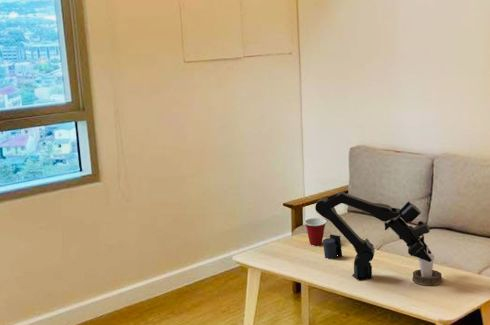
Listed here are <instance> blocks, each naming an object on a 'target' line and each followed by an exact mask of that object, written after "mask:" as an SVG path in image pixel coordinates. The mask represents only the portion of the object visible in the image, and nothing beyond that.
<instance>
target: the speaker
mask: <svg viewBox="0 0 490 325" xmlns="http://www.w3.org/2000/svg"><path fill="white" fill-rule="evenodd" d="M322 244H323V250H324V251H323V252H324V258H325V259H327V258H328V260H333V259H332V258H334V259H335V258H338V257H339V256H342V257H343V252H342V251H343V249H342V241H341V235H336V234H329V237H327V238H323V239H322ZM337 255H338V256H337Z"/></svg>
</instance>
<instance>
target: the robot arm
mask: <svg viewBox="0 0 490 325" xmlns="http://www.w3.org/2000/svg"><path fill="white" fill-rule="evenodd" d="M340 204H343V205H345V206H349V207H350V208H351V207H352V208H355V209H357V210H360V211H363V212H365V213H368V214H370V215H371V216H372V217H374V218H375V219H378V220H380V221H381V222H384V231H387V230H389V229H391V230H392V231H393V232H394V233H395V234H396V236H398V238H399V240H402V241H403V242H404V243H406V246H407V247H408V248H407V253H408V254H409V255H410V257H416V258H417V259H418V258H420V259H423V260H426V261H428V262H431V261H432V260H431V258H430V257H429V255H428V254H432V252H431V250H430V248H429V247H428V254H427V244H426V242H425V234H429V233H430V227H429V225H428V223H427V222H426V221H425V222H424V221H422V220H420V221H419V220H418V221H417V225H415V226H414V227H413V226H412V225H408V224H407V223H412V222H413V221H414V220H415V219H416V218H418V217H419V216H420V215H421V214H422V212H421V210H420V209H419V207H418V206H416V205H414V203H412V202H410V201H407V202H406V203H405V204H404V205H403V206H402V207H401V208H398V207H397V208H396V207H391V206H390V204H386V203H377V202H372V201H371V202H370V201H368V200H365V199H362V198H360V197H357V196H354V195H352V194H348V193H346V192H344V191H340V192H338V193H336V194H333V195H331V196H328V197H321V198H320V199H318V200H317V202H316V204H315V206H314V207H315V212H316V213H317V214H319V215H320V216H321V217H323V219H324V218H325V220H326V219H327V220H328V221H329V222H330V223H332V224H333V226H334V227H335V228H336V229H337V230H338V231H339V232H340V233H341V234H342V235H343V236H344V238H346V240H347V241H348V242H349V243H350V244H351V245H352V247H353V248H354V251H355V253H356V255H355V257H354V260H353V273H352V277H354V278H355V279H356V280H358V281H364V280H372V279H373V278H374V277H373V266H372V263H371V261H373V259H374V256H375V253H376V252H375V247H374V244H373V243H371V242H370V240H369V239H368V238H366V239H365V240H364V239H363V238H361V237H360V236H359V235H358V234H357V233H356V232H355V231H354V230H353V229H352V227H350V225H349V224H348V223H347V222H346V220H344V219H343V218H342V217H341V216H340V215H339V213H338V212H337V210H336V208H335V207H337V206H339V205H340Z"/></svg>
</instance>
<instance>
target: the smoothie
mask: <svg viewBox="0 0 490 325" xmlns="http://www.w3.org/2000/svg"><path fill="white" fill-rule="evenodd" d="M426 245H427V244H426ZM428 248H429V245H427V254H428ZM428 255H429V257H430V258H431V260H432V261H431V262H428V261H426V260H423V259H420V258H418V257H417V260H418V262H419V268H420V269H421V276H422V277H426V278H432V270H434V260H435V255H434V254H432V253H431V254H428ZM420 269H419V270H420Z"/></svg>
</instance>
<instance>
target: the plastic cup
mask: <svg viewBox="0 0 490 325" xmlns="http://www.w3.org/2000/svg"><path fill="white" fill-rule="evenodd" d="M304 224H305V227H306V231H307V237H308V242H309V244H311V245H310V246H312V245H319V246H321V245H322V244H323V240H324V234H325V228H326V224H327V220H326V219H324V218H322V217H321V218H320V217H311V218H307V219H305V220H304ZM320 244H321V245H320Z"/></svg>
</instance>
